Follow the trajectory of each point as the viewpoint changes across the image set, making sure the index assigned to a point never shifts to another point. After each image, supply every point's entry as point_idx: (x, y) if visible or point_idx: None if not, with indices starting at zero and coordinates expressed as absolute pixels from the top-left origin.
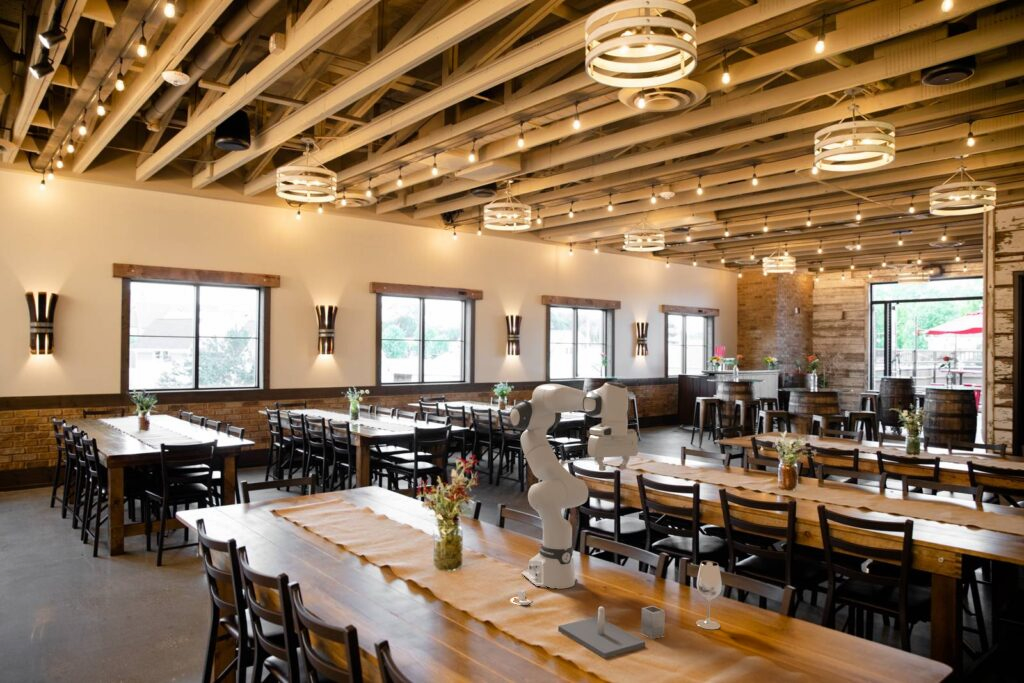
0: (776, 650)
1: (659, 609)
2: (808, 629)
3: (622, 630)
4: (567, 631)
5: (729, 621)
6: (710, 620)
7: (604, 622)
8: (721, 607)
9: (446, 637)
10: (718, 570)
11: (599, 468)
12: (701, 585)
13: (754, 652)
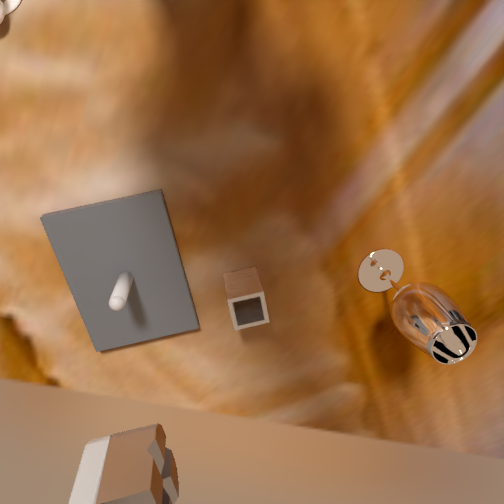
0: (403, 377)
1: (263, 312)
2: None
3: (180, 275)
4: (53, 249)
5: (433, 265)
6: (398, 259)
7: (160, 228)
8: (481, 198)
9: None
10: (453, 354)
11: (86, 464)
12: (396, 323)
13: (365, 376)
